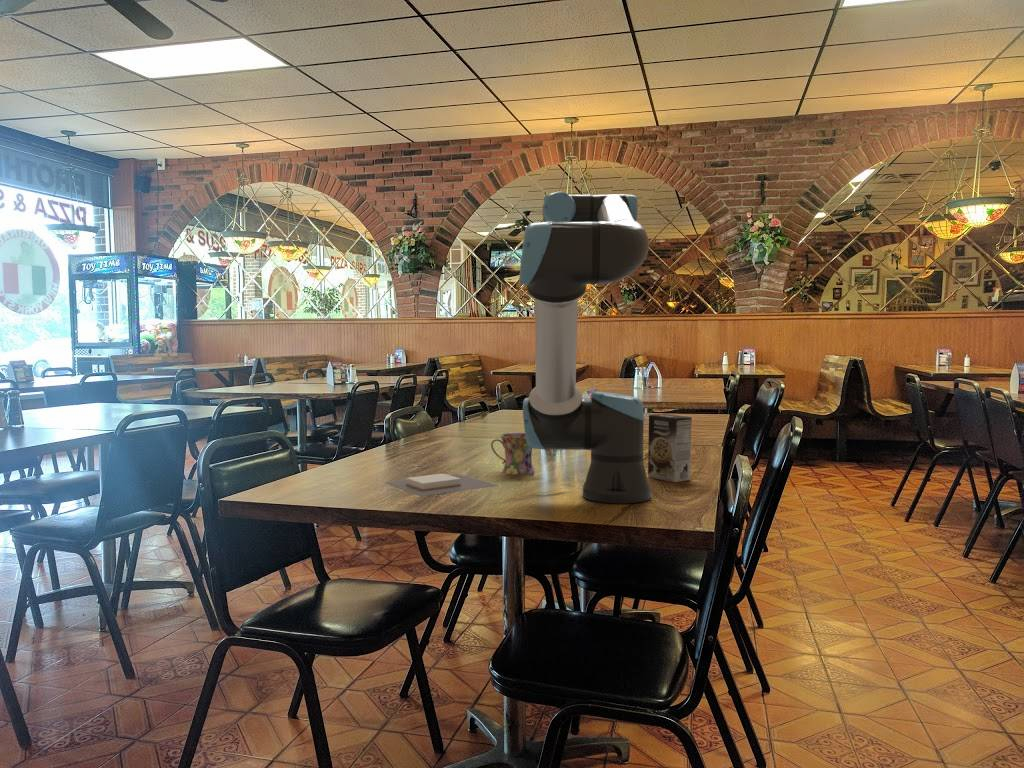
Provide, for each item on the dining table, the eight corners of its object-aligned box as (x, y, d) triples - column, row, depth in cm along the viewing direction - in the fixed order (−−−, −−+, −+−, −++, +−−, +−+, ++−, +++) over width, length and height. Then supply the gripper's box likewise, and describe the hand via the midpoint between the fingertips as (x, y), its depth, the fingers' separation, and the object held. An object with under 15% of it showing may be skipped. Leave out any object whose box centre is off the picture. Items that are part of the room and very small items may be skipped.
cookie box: (646, 477, 188) (647, 414, 187) (663, 474, 192) (664, 413, 191) (674, 482, 181) (675, 417, 180) (691, 479, 184) (692, 416, 183)
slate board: (497, 490, 171) (497, 485, 171) (421, 501, 159) (421, 496, 159) (457, 478, 186) (457, 473, 185) (385, 487, 174) (385, 482, 174)
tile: (460, 478, 171) (422, 483, 165) (460, 485, 171) (422, 490, 165) (443, 473, 177) (406, 477, 171) (443, 479, 177) (406, 484, 171)
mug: (540, 473, 193) (540, 433, 192) (531, 480, 184) (531, 438, 183) (496, 471, 196) (496, 431, 195) (485, 477, 187) (485, 436, 186)
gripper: (568, 259, 191) (567, 350, 193) (528, 256, 184) (528, 350, 185) (587, 257, 185) (586, 350, 187) (547, 253, 177) (546, 351, 179)
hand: (557, 350), depth 186 cm, fingers closed
